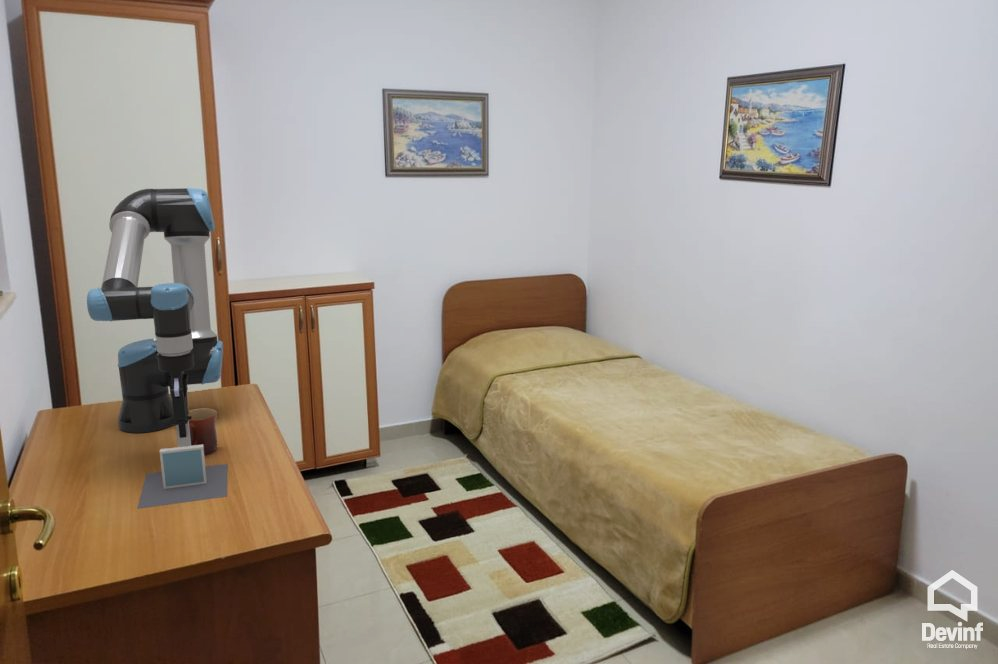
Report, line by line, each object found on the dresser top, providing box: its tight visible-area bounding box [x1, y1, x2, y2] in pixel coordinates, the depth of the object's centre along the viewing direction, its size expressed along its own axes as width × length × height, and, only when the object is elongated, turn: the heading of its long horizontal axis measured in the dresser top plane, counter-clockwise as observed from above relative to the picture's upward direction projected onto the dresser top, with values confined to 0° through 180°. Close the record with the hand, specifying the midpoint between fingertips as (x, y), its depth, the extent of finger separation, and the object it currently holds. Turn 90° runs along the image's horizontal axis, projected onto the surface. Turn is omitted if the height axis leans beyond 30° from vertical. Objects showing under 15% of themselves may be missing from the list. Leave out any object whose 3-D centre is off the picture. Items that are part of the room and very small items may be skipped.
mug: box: [188, 407, 218, 456], centre depth 182 cm, size 12×9×10 cm
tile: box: [159, 444, 207, 489], centre depth 165 cm, size 2×9×9 cm, turn 110°
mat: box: [137, 463, 229, 509], centre depth 166 cm, size 18×18×1 cm
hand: (184, 448), depth 171 cm, fingers closed
